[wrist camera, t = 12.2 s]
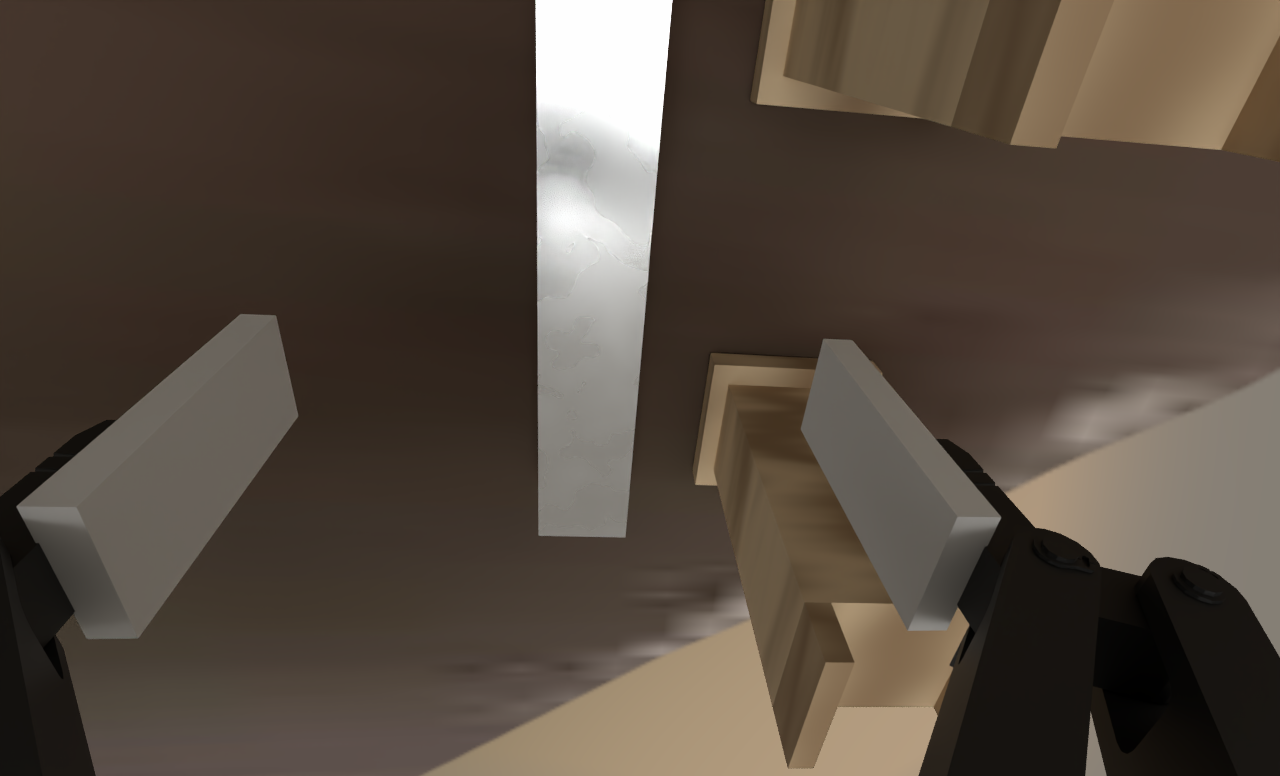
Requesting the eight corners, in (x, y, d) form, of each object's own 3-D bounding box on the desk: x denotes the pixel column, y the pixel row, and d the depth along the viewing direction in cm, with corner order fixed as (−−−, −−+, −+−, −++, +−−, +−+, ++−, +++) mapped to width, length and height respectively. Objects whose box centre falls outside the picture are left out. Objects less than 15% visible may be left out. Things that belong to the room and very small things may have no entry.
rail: (546, 469, 33) (538, 535, 29) (548, -175, 20) (534, -229, 16) (622, 471, 34) (625, 537, 29) (671, -161, 21) (690, -210, 16)
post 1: (692, 470, 33) (756, 786, 20) (710, 352, 30) (804, 636, 16) (838, 475, 34) (999, 784, 20) (872, 361, 31) (1095, 640, 17)
